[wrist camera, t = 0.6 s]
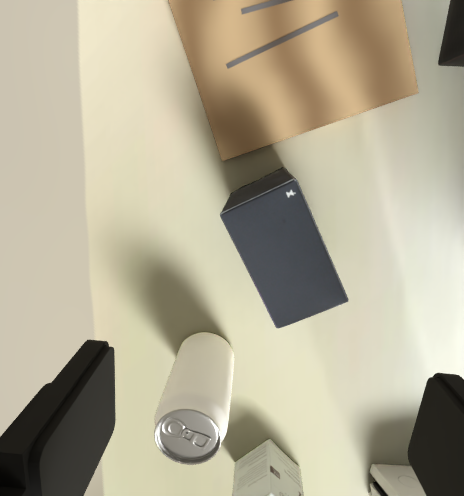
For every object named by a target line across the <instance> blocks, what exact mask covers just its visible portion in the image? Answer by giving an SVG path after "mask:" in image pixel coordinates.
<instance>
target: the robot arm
mask: <svg viewBox="0 0 464 496" xmlns="http://www.w3.org/2000/svg"><path fill="white" fill-rule="evenodd" d="M114 427H115V366H114V348H113V347H109V344H108V342H107V341H97V340H87V341H86V342H85V343H84V344H83V345H82V346H81V348H80V349H79V350H78V352H76V354H75V355H74V356H73V357H72V359H71V360H70V361H69V362H68V364H67V365H66V366H65V367H64V368H63V369H62V371H61V372H60V373H59V374H58V375H57V377H56V378H55V379H54V380H53V381H52V383H48V384H46V385H45V386H43V387H42V388H41V390H40V391H39V392H38V393H37V394H36V395H35V397H34V398H33V399H32V400H31V401H30V403H29V404H28V405H27V406H26V407H25V409H24V410H23V411H22V412H21V413H20V414H19V416H18V417H17V418H16V419H15V420H14V421H13V423H12V424H11V425H10V426H9V427H8V429H7V430H6V431H5V432H4V433H3V434H2V436H1V437H0V496H84V493H85V491H86V489H87V487H88V485H89V482H90V481H91V478H92V476H93V474H94V472H95V470H96V468H97V466H98V463H99V461H100V459H101V457H102V455H103V453H104V451H105V449H106V446H107V444H108V442H109V440H110V438H111V436H112V433H113V430H114ZM408 459H409V462H410V465H411V467H412V469H413V471H414V472H415V474H416V476H417V478H418V480H419V482H420V484H421V486H422V488H423V490H424V492H425V494H426V496H464V380H463V378H462V377H460V376H459V375H454V374H444V373H436V374H435V375H434V376H433V378H432V377H431V378H429V379H428V381H427V384H426V387H425V391H424V394H423V398H422V401H421V405H420V408H419V412H418V416H417V419H416V423H415V426H414V430H413V433H412V437H411V440H410V444H409V447H408Z"/></svg>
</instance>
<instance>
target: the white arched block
mask: <svg viewBox="0 0 464 496" xmlns="http://www.w3.org/2000/svg"><path fill="white" fill-rule="evenodd" d="M370 473H371V475H372V476H373V478H374V479H375V481H376V482H373V484H370V487H371V492H369V496H426V494H425V492H424V490H423V488H422V486H421V484H420V482H419V480H418V478H417V476H416V474H415V472H414V471H413V469H412V467H411V466H406V465H388V464H372V466H371V469H370Z"/></svg>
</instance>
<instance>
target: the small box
mask: <svg viewBox="0 0 464 496" xmlns="http://www.w3.org/2000/svg"><path fill="white" fill-rule="evenodd" d="M220 217H221V219H222V221H223V223H224V225H225V227H226V229H227V231H228V233H229V235H230V237H231V238H232V240H233V242H234V244H235V246H236V248H237V250H238V252H239V254H240V256H241V258H242V260H243V262H244V264H245V266H246V268H247V270H248V272H249V274H250V276H251V278H252V280H253V282H254V284H255V286H256V288H257V290H258V292H259V294H260V296H261V298H262V300H263V302H264V304H265V306H266V308H267V311H268V313H269V314H270V317H271V319H272V321H273V323H274V325H275V327H276V328H281V327H284V326H287V325H290V324H292V323H295V322H298V321H300V320H303V319H305V318H308V317H311V316H313V315H315V314H318V313H321V312H323V311H326V310H328V309H331V308H333V307H336V306H338V305H341V304H343V303H346V302H348V297H347V295H346V293H345V290H344V288H343V286H342V283H341V281H340V278H339V276H338V274H337V272H336V269H335V267H334V265H333V262H332V260H331V257H330V255H329V253H328V250H327V248H326V246H325V244H324V241H323V239H322V236H321V234H320V232H319V230H318V227H317V225H316V223H315V220H314V218H313V216H312V213H311V211H310V209H309V207H308V204H307V202H306V200H305V197H304V195H303V193H302V190H301V188H300V186H299V183H298V181H297V180H296V179H295V178H294V177H293V176H292V175H291V174H290V173H289V172H288V171H287V170H286V169H285V168H283V167H282V168H281V169H278V170H277V171H275V172H274V173H271V174H269V175H267V176H265V177H264V178H261V179H260V180H257V181H255V182H253V183H251V184H249V185H245V186H243V187H241V188H239V189H238V190H236V191H235V192H233V193H231V195H230V197H229V199H228V201H227V203H226V205H225V206H224V208H223V210H222V212H221V213H220Z"/></svg>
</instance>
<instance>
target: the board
mask: <svg viewBox="0 0 464 496" xmlns="http://www.w3.org/2000/svg"><path fill="white" fill-rule="evenodd" d="M168 1H169V4H170V7H171V10H172V13H173V16H174V19H175V22H176V25H177V28H178V31H179V34H180V37H181V40H182V42H183V45H184V48H185V51H186V54H187V57H188V60H189V63H190V66H191V69H192V72H193V75H194V78H195V81H196V84H197V87H198V90H199V93H200V96H201V99H202V102H203V105H204V108H205V111H206V114H207V117H208V120H209V123H210V126H211V129H212V132H213V135H214V138H215V141H216V144H217V147H218V150H219V153H220V156H221V159H222V161H224V160H227V159H230V158H233V157H236V156H239V155H242V154H245V153H247V152H250V151H253V150H256V149H259V148H262V147H265V146H267V145H270V144H273V143H276V142H279V141H282V140H285V139H288V138H290V137H293V136H296V135H299V134H302V133H305V132H308V131H311V130H313V129H316V128H319V127H322V126H325V125H328V124H331V123H333V122H336V121H339V120H342V119H345V118H348V117H351V116H354V115H356V114H359V113H362V112H365V111H368V110H371V109H374V108H377V107H379V106H382V105H385V104H388V103H391V102H394V101H397V100H399V99H402V98H405V97H408V96H411V95H414V94H417V93H418V87H417V82H416V77H415V71H414V66H413V60H412V55H411V50H410V44H409V39H408V34H407V28H406V23H405V18H404V12H403V7H402V1H401V0H168Z"/></svg>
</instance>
